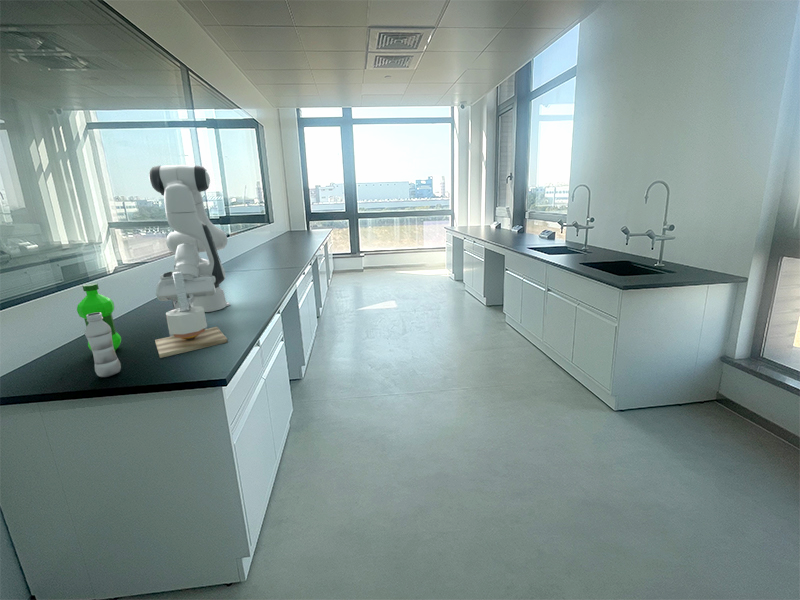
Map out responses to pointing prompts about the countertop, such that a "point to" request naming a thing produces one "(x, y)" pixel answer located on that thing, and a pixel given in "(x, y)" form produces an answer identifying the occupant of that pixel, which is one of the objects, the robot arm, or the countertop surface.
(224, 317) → the countertop surface
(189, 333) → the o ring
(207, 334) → the oak base board
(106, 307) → the plastic bottle
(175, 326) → the sleeve
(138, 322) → the countertop surface
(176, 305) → the ink box
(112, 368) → the plastic bottle
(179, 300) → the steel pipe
